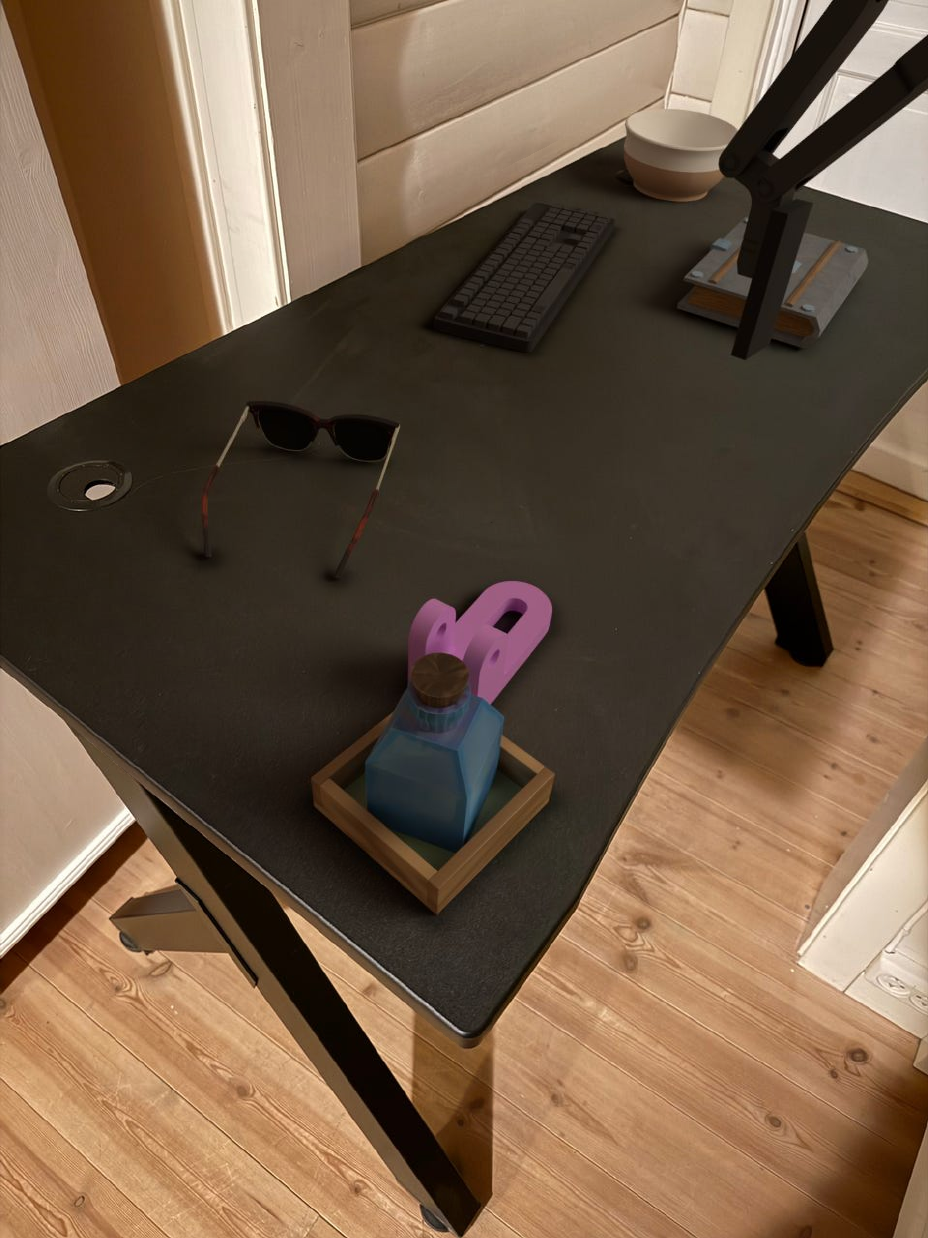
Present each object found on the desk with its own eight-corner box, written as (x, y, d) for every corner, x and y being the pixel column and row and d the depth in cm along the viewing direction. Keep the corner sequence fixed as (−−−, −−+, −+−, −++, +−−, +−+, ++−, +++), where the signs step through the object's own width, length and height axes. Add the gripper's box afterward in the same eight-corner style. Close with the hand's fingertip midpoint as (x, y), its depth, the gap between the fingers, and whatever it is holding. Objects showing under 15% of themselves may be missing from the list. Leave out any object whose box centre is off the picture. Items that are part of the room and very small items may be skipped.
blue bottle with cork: (461, 855, 54) (473, 736, 46) (367, 820, 56) (362, 697, 47) (496, 775, 58) (513, 652, 50) (407, 744, 60) (409, 619, 51)
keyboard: (533, 211, 122) (535, 196, 121) (614, 229, 120) (617, 213, 119) (432, 329, 99) (433, 312, 98) (530, 353, 97) (532, 336, 95)
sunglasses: (401, 463, 82) (400, 419, 78) (357, 593, 72) (354, 548, 68) (254, 442, 83) (246, 396, 79) (190, 566, 73) (178, 520, 69)
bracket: (474, 724, 62) (481, 657, 57) (407, 688, 64) (408, 621, 59) (562, 613, 70) (575, 545, 65) (500, 584, 72) (508, 516, 67)
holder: (548, 801, 58) (555, 773, 56) (436, 915, 52) (438, 889, 50) (429, 710, 63) (430, 681, 60) (313, 806, 57) (310, 777, 55)
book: (811, 354, 100) (827, 312, 96) (672, 310, 105) (682, 268, 102) (859, 283, 113) (875, 244, 109) (733, 247, 118) (744, 208, 114)
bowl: (665, 157, 139) (676, 101, 133) (748, 193, 131) (764, 134, 125) (592, 179, 132) (601, 120, 126) (676, 218, 123) (690, 156, 118)
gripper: (1723, -234, 23) (1219, 475, 37) (813, -257, 34) (683, 295, 48) (1811, -280, 19) (1197, 551, 32) (725, -290, 30) (608, 333, 43)
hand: (889, 399), depth 40 cm, fingers open, 13 cm apart
